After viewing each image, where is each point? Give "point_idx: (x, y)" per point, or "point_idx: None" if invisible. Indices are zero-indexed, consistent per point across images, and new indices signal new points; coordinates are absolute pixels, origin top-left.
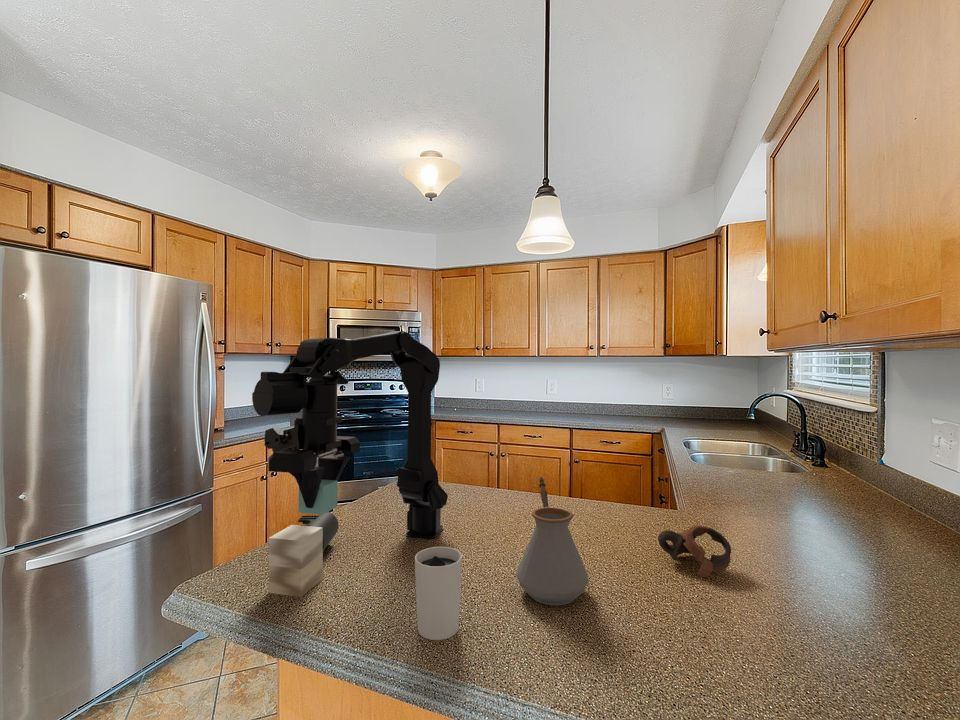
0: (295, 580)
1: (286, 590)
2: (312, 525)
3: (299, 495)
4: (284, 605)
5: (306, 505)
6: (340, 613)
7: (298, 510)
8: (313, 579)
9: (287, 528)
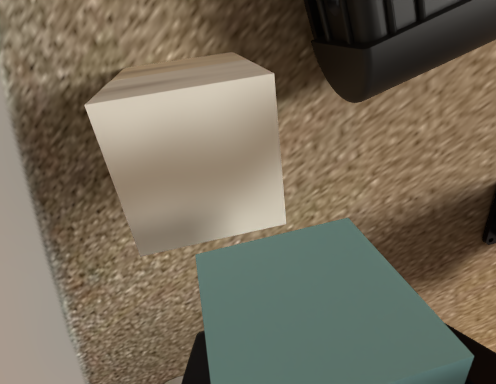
0: None
1: None
2: (401, 43)
3: (208, 348)
4: (102, 161)
5: (194, 347)
6: (144, 277)
7: (197, 261)
8: None
9: (223, 94)
